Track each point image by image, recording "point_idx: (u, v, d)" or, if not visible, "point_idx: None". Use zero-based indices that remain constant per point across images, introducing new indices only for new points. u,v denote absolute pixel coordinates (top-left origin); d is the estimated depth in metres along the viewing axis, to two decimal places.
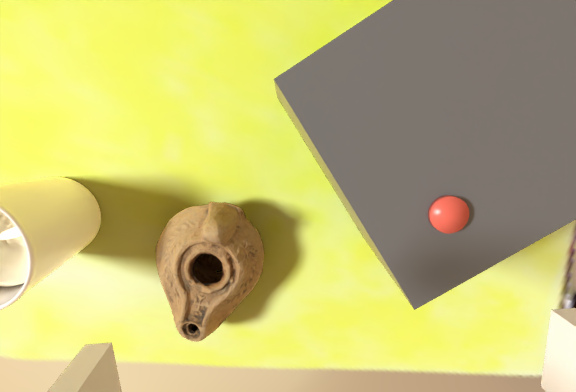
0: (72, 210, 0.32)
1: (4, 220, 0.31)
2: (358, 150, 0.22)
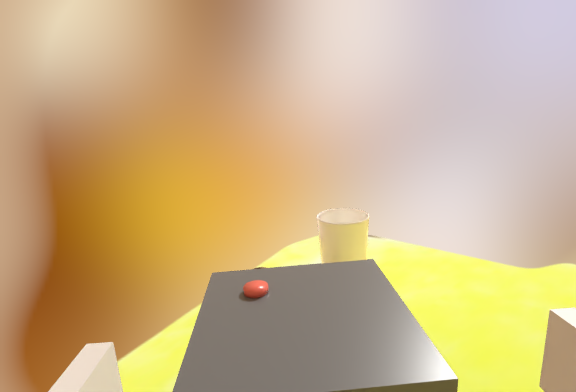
0: (344, 259, 0.63)
1: None
2: (319, 272, 0.37)
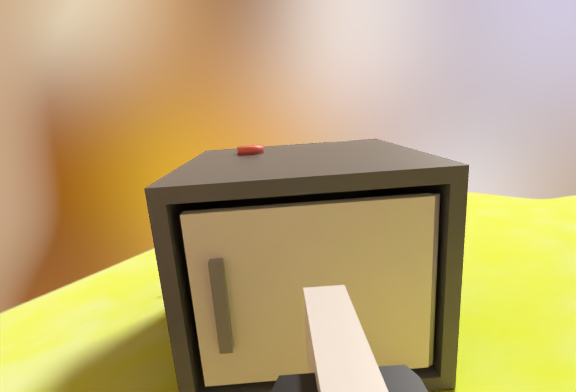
0: None
1: None
2: (318, 145, 0.35)
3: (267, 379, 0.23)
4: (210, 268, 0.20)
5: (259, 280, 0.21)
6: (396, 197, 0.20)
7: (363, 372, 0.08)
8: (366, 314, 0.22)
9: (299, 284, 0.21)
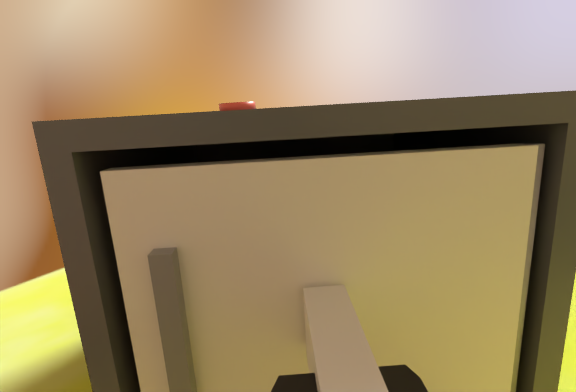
0: None
1: None
2: None
3: None
4: (152, 264, 0.12)
5: (238, 286, 0.13)
6: (470, 148, 0.12)
7: (363, 372, 0.08)
8: (412, 342, 0.13)
9: None
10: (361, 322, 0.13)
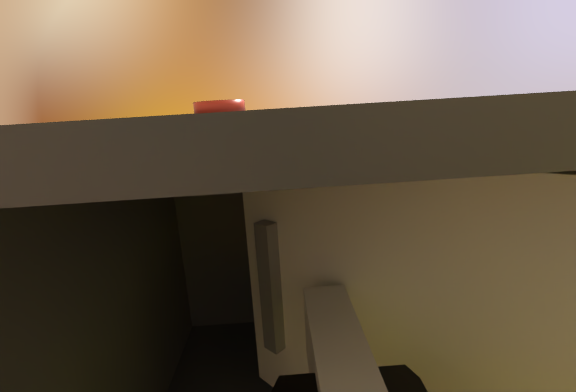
0: None
1: None
2: None
3: None
4: (255, 230, 0.15)
5: (315, 272, 0.13)
6: None
7: (363, 372, 0.08)
8: None
9: (368, 303, 0.12)
10: (427, 365, 0.11)
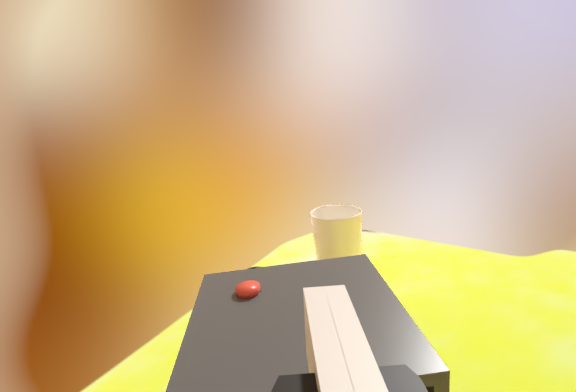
0: (339, 255, 0.63)
1: None
2: (311, 270, 0.37)
3: None
4: None
5: None
6: None
7: (363, 372, 0.08)
8: None
9: None
10: None
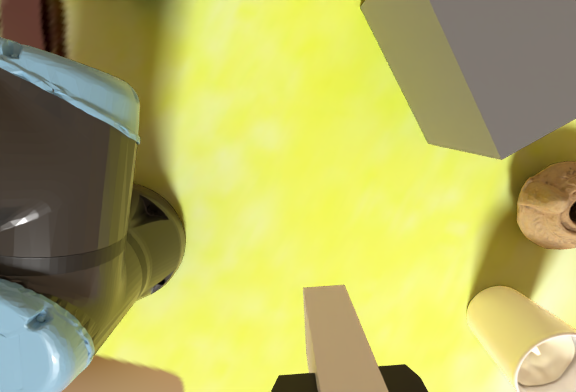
0: (511, 304, 0.43)
1: None
2: (565, 94, 0.28)
3: None
4: None
5: None
6: None
7: (363, 372, 0.08)
8: None
9: None
10: None
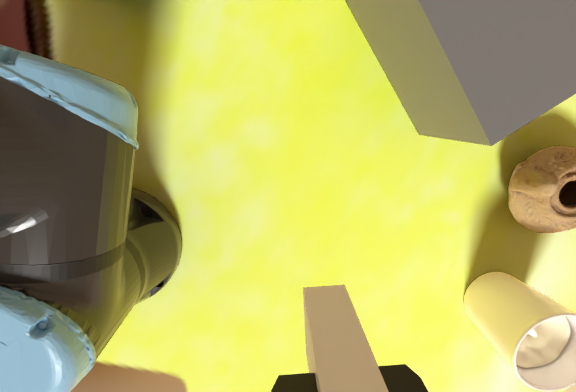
0: (506, 289, 0.44)
1: None
2: (550, 79, 0.28)
3: None
4: None
5: None
6: None
7: (363, 372, 0.08)
8: None
9: None
10: None
